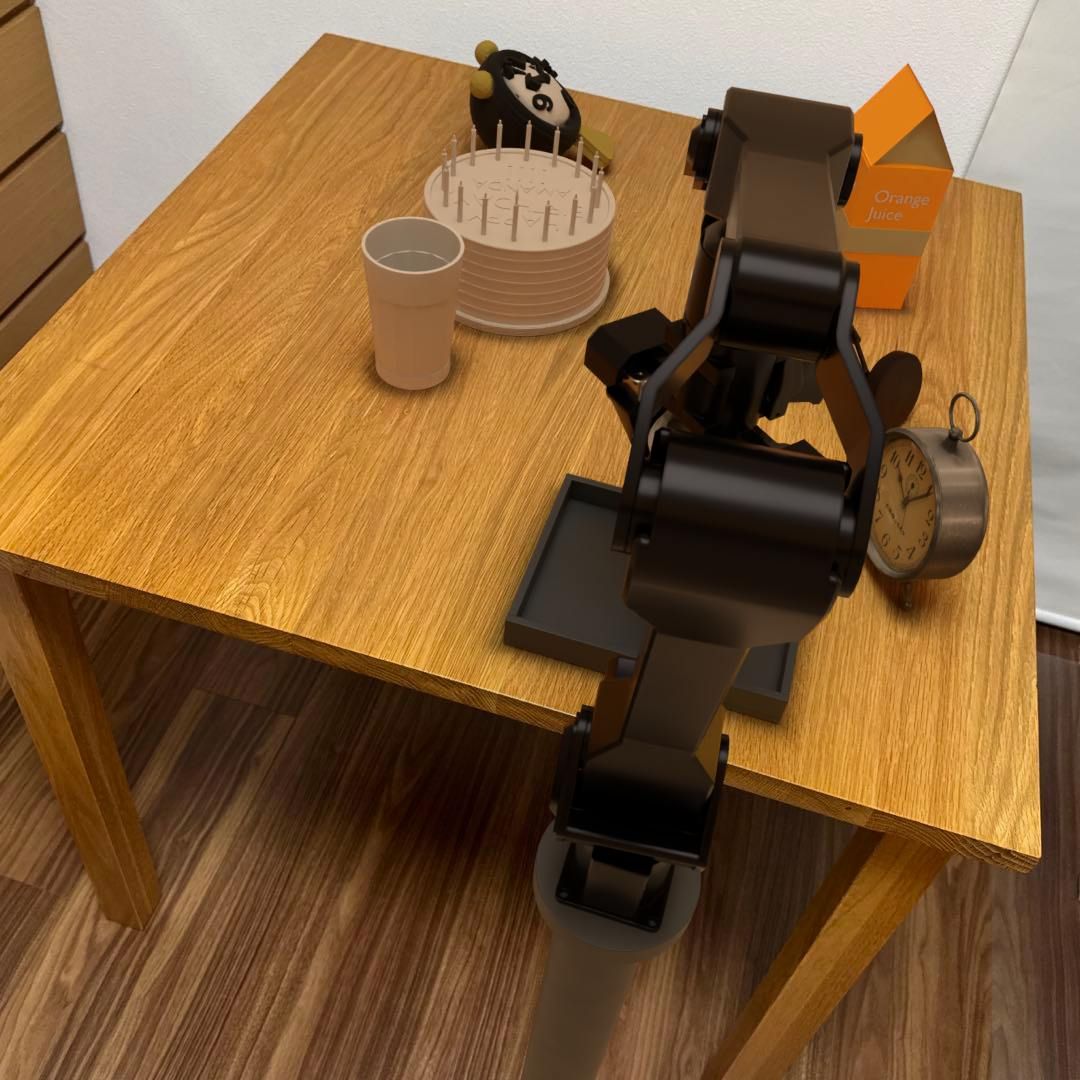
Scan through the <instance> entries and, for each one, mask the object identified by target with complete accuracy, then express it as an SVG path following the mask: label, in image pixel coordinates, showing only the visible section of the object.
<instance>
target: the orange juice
mask: <svg viewBox="0 0 1080 1080" xmlns="http://www.w3.org/2000/svg"><path fill="white" fill-rule="evenodd" d="M854 133H860V134H863V146H862V152H861V158H860V163H859V167H858V171H857V175H856V179H855V182H854V186H853V189H852V192H851V195H850V198H849V200H848V202H847V204H846V206H845V207H844V208H842V209H840V210H838V211H836V216H837V222H838V229H839V236H840V242H841V249H842V253H843V255H844V256H845V258H846V259H848V260H854V261H858V262H859V263H860V281H859V289H858V295H857V301H856V307H855V308H863V309H881V310H883V309H884V310H885V309H886V310H902V307H903V304H904V302H905V300H906V296H907V294H908V291H909V289H910V286H911V285H912V282H913V278H914V276H915V274H916V271H917V268H918V266H919V263H920V260H921V258H922V257H923V254H924V252H925V249H926V247H927V244H928V242H929V238H930V236H931V234H932V229H933V227H934V225H935V222H936V219H937V217H938V213H939V212H940V209H941V206H942V204H943V201H944V199H945V197H946V193H947V190H948V188H949V186H950V183H951V180H952V177H953V175H954V173H955V171H956V170H955V168H954V166H953V163H952V159H951V156H950V153H949V150H948V147H947V144H946V140H945V138H944V135H943V132H942V128H941V125H940V123H939V120H938V117H937V114H936V110H935V108H934V106H933V104H932V103H931V100H930V98H929V97H928V95H927V93H926V92H925V89H924V88H923V86H922V84H921V83H920V81H919V80H918V78H917V75H916V74H915V72H914V71H913V69H912V67H911V65H910V64H909V62H907V64H906V65H904V66H903V67H902V68H901V69H900V70H899V71H898V72H897V73H896V74H894V76H893V77H892V78H890V79H889V80H888V81H887V82H886V83H885V84H884V85H883V86H882V87H881V88H880V89H879V90H877V92H876V93H875V94H874V95H872V96H871V97H870V98H869V99H867V101H866V102H865V103H864V104H863V105H862V106H861V107H859V108H858V109H857V110H856V112H854Z"/></svg>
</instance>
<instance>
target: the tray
mask: <svg viewBox="0 0 1080 1080" xmlns="http://www.w3.org/2000/svg"><path fill="white" fill-rule="evenodd" d="M622 489H623V487H622V486H618V485H615V484H614V485H613V484H609V483H606V482H603V481H598V480H596V479H591V478H589V477H584V476H581V475H576V474H573V473H570V472H566V474H565V476H564V478H563V480H562V483H561V485H560V488H559V490H558V493H557V495H556V497H555V500H554V502H553V504H552V506H551V509H550V511H549V513H548V516H547V519H546V521H545V524H544V526H543V528H542V531H541V534H540V535H539V537H538V540H537V543H536V545H535V546H534V547H535V548H534V550H533V552H532V555H531V557H530V560H529V561H528V564H527V567H526V569H525V571H524V574H523V576H522V579H521V581H520V583H519V586H518V588H517V591H516V593H515V595H514V598H513V600H512V603H511V605H510V607H509V610H508V612H507V615H506V616H505V620H504V628H503V638H502V639H503V640H502V644H504V645H508V646H511V647H514V648H517V649H521V650H525V651H528V652H531V653H534V654H538V655H541V656H545V657H548V658H552V659H555V660H558V661H563V662H565V663H569V664H572V665H576V666H578V667H581V668H582V667H583V668H586V669H590V670H592V671H595V672H600V673H603V674H605V673H606V668H607V664H608V661H609V660H610V659H611V658H613V657H614V656H616V655H619V656H624V657H629V658H634V659H636V658H637V655H638V651H639V648H640V644H641V641H642V637H643V634H644V631H645V627H646V624H647V621H646V620H645V619H643V618H642V617H641V616H639V615H638V614H636V613H635V612H634V611H632V610H631V609H630V608H628V607H627V606H626V605H625V604H624V602H623V601H622V600H621V595H622V590H623V585H624V579H625V574H626V569H627V564H628V559H629V555H627V554H625V553H620V552H615V551H610V550H611V545H612V540H613V535H614V529H615V524H616V519H617V514H618V509H619V504H620V499H621V494H622ZM799 644H800V641H797V642H789V643H782V644H774V645H767V646H759V647H752V648H750V650H749V652H748V654H747V656H746V658H745V659H744V661H743V663H742V665H741V667H740V669H739V671H738V673H737V675H736V677H735V679H734V681H733V683H732V684H731V686H730V688H729V690H728V692H727V694H726V696H725V698H724V700H723V702H722V705H723V706H724V707H725V710H729V711H733V712H736V713H739V714H742V715H746V716H749V717H753V718H757V719H760V720H763V721H766V722H770V723H773V724H776V725H779V724H780V723H781V720H782V718H783V715H784V713H785V711H786V708H787V706H788V704H789V700H790V694H791V688H792V683H793V677H794V672H795V666H796V662H797V655H798V650H799Z"/></svg>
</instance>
